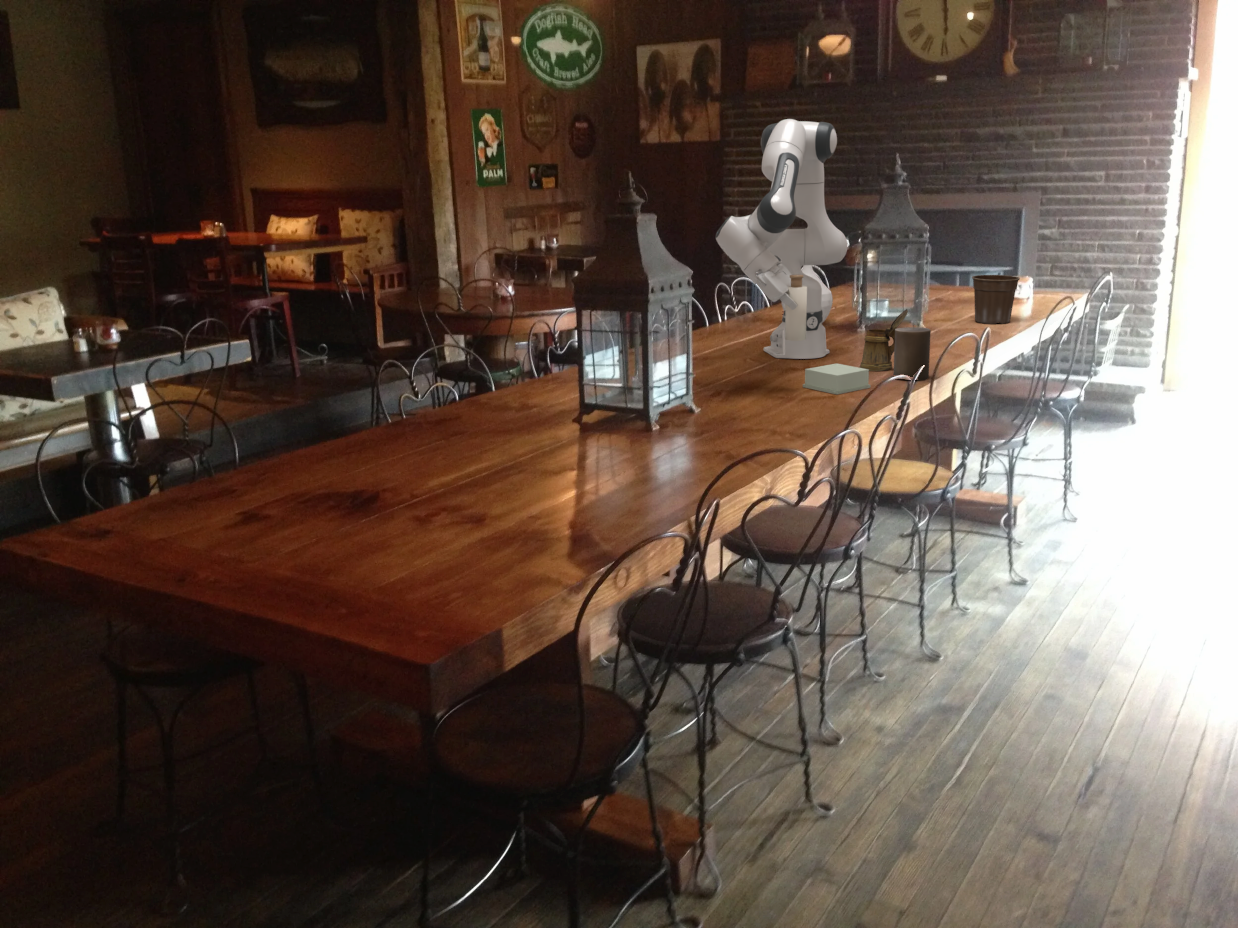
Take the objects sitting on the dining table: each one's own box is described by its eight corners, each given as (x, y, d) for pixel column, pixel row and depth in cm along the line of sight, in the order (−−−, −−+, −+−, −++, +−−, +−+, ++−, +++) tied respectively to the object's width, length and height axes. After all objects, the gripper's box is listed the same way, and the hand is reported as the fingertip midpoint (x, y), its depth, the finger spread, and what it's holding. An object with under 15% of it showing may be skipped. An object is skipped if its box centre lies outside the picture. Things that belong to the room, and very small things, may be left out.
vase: (772, 323, 416) (773, 241, 408) (817, 320, 421) (819, 239, 413) (794, 330, 399) (796, 245, 391) (841, 326, 404) (843, 242, 396)
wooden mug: (899, 374, 321) (901, 311, 316) (855, 369, 329) (856, 308, 324) (911, 368, 328) (913, 307, 323) (867, 364, 336) (869, 304, 331)
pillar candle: (929, 381, 310) (932, 327, 306) (893, 380, 312) (895, 327, 308) (927, 375, 319) (930, 322, 315) (892, 374, 321) (894, 322, 317)
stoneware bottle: (781, 338, 304) (782, 274, 299) (799, 336, 306) (801, 273, 301) (791, 341, 299) (792, 277, 294) (809, 339, 300) (811, 275, 296)
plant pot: (1021, 320, 408) (1024, 275, 403) (1010, 326, 395) (1013, 280, 390) (976, 317, 416) (978, 273, 412) (964, 323, 403) (966, 278, 399)
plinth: (802, 387, 307) (803, 369, 306) (836, 380, 314) (836, 363, 313) (836, 394, 297) (837, 376, 296) (870, 387, 304) (871, 369, 303)
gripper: (761, 264, 289) (798, 303, 289) (779, 255, 307) (814, 292, 307) (744, 281, 292) (781, 320, 291) (763, 271, 310) (798, 308, 310)
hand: (798, 305), depth 299 cm, fingers closed on stoneware bottle, 6 cm apart
